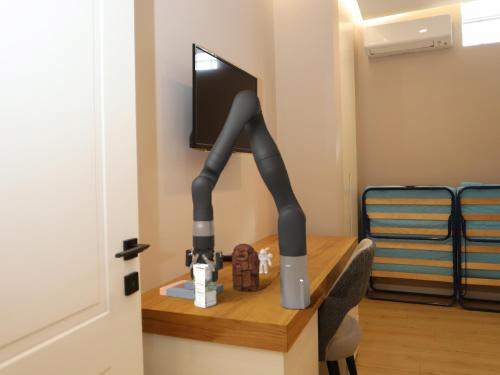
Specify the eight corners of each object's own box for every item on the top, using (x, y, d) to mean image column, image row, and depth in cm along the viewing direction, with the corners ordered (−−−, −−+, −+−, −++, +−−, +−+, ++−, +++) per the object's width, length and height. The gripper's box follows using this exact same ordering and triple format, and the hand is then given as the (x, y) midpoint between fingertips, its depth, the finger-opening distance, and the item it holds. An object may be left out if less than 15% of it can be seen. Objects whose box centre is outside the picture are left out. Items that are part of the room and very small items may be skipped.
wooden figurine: (228, 291, 153) (227, 244, 153) (233, 286, 159) (232, 242, 159) (257, 292, 150) (256, 245, 150) (262, 288, 156) (260, 242, 156)
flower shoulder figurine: (273, 272, 183) (273, 246, 183) (272, 274, 179) (271, 248, 179) (255, 271, 185) (254, 246, 185) (252, 273, 181) (252, 247, 181)
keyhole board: (223, 290, 154) (223, 284, 154) (202, 300, 141) (202, 293, 141) (182, 285, 163) (182, 279, 163) (159, 294, 151) (159, 288, 151)
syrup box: (205, 301, 140) (204, 261, 140) (217, 304, 136) (216, 262, 136) (193, 306, 136) (192, 263, 135) (205, 309, 132) (204, 265, 132)
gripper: (226, 233, 136) (227, 280, 136) (193, 231, 142) (194, 276, 143) (214, 236, 129) (215, 285, 129) (180, 233, 136) (180, 280, 136)
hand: (204, 280), depth 136 cm, fingers open, 8 cm apart
